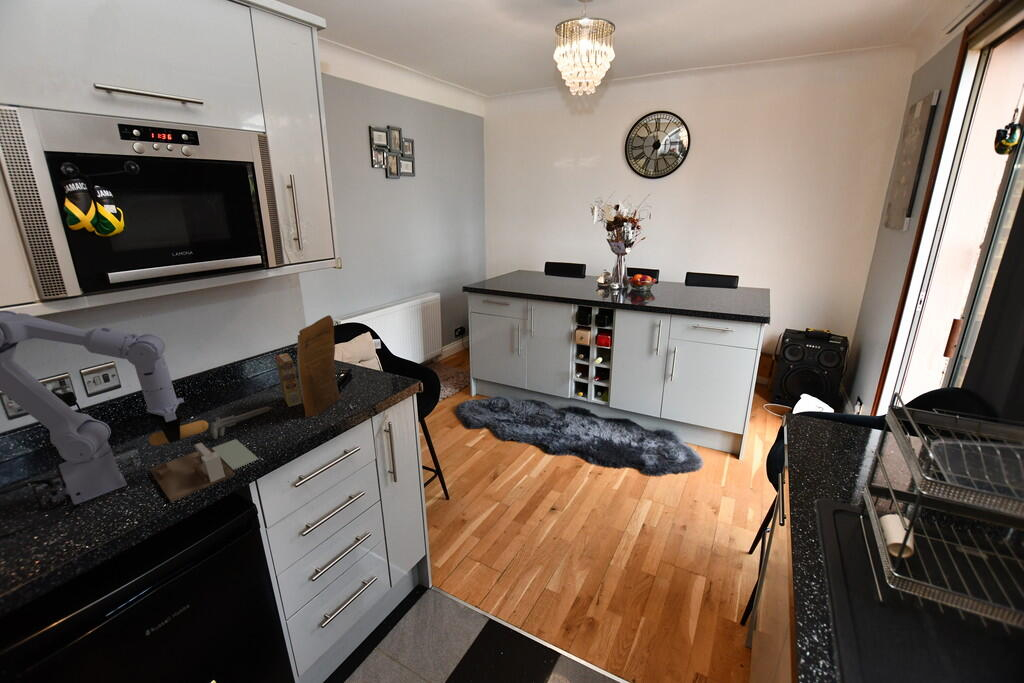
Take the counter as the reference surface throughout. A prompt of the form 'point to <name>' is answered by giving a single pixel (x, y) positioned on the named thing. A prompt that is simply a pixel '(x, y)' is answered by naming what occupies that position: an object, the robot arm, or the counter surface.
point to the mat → (234, 454)
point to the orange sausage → (184, 432)
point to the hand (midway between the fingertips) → (173, 438)
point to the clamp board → (185, 476)
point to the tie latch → (211, 463)
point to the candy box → (288, 379)
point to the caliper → (232, 421)
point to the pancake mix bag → (317, 366)
